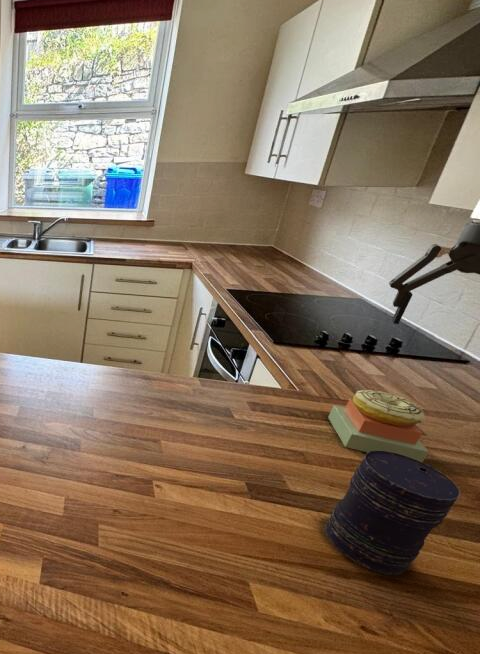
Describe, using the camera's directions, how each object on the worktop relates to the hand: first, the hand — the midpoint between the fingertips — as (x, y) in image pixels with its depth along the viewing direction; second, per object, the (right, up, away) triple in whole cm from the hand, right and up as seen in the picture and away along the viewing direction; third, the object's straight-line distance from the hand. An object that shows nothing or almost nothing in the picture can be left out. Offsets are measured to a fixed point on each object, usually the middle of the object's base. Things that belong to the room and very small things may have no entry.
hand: (441, 330), depth 81 cm
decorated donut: (-8, -18, +4) cm, 20 cm away
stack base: (-8, -24, +6) cm, 26 cm away
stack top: (-8, -21, +5) cm, 23 cm away
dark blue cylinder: (-34, -34, -18) cm, 51 cm away
